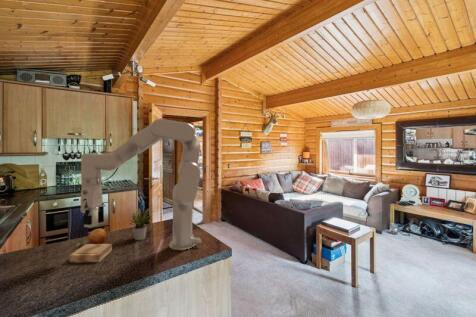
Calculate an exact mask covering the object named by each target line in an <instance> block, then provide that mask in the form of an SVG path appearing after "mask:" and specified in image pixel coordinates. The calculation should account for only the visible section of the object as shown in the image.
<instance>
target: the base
mask: <svg viewBox="0 0 476 317" xmlns="http://www.w3.org/2000/svg"><path fill="white" fill-rule="evenodd" d="M112 251H113V243H102V244H91V243H85V244H83V245H82V246H80V247H79V248H78V249H76V250H75V251H74V252H72V253H70V254H69V263H101V261H102V260H103V259H104V258H105V257H107V256H108V254H110V253H111V252H112Z"/></svg>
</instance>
